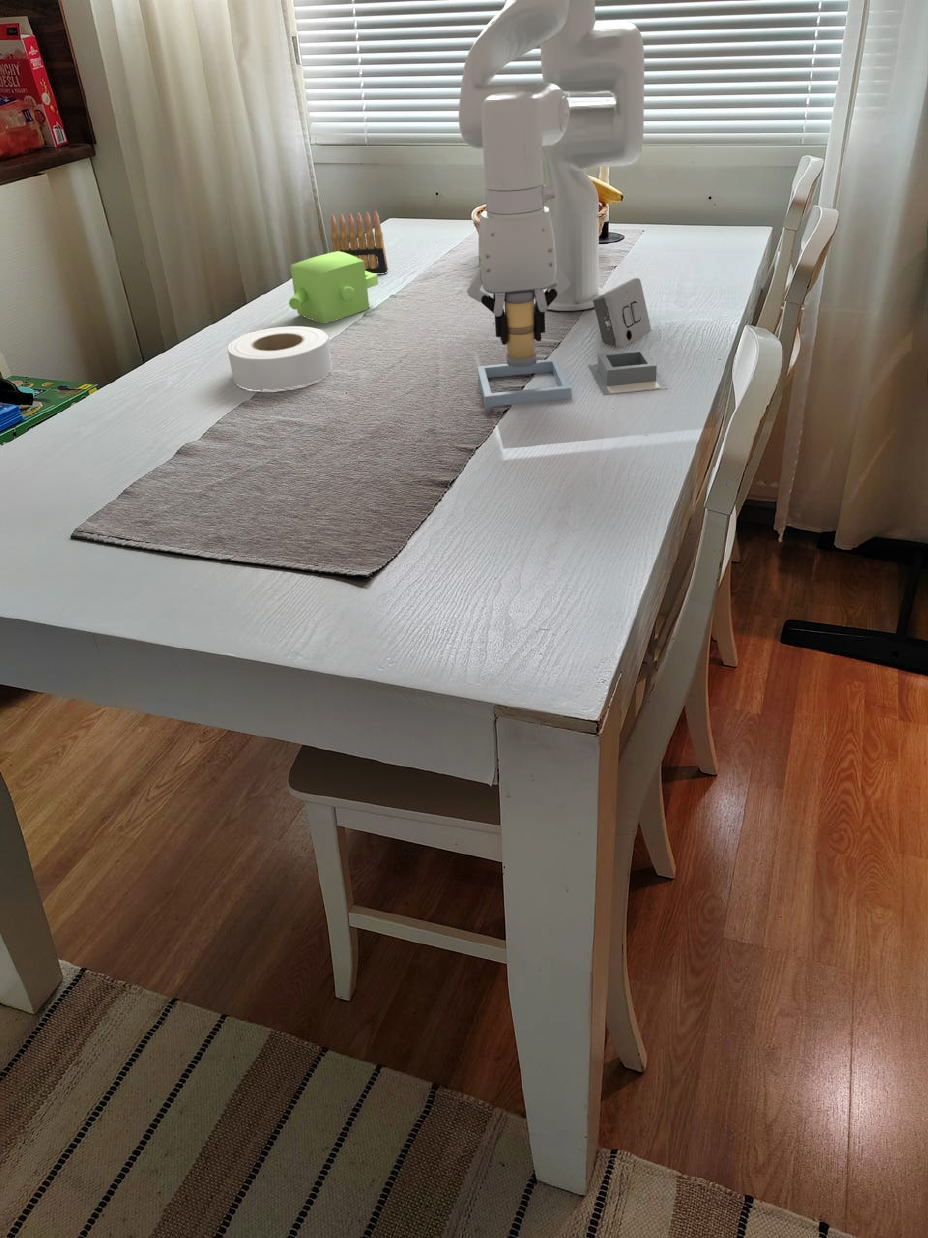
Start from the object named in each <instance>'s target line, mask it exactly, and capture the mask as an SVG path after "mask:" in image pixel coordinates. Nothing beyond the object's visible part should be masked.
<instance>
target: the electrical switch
mask: <svg viewBox="0 0 928 1238" xmlns="http://www.w3.org/2000/svg"><path fill="white" fill-rule="evenodd" d="M593 304H594V307H593V308H594V310H595V311H594V313H595V316H596V319H597V324H598V329H599V332H600V333H599V334H600V337H601V341H602V343H604V344H610V345H614V346H615V347H616V348H621V349H622V348H624V347H626V346H628V345H630V344H631V343H633V342H634V341H636V340H638V339H639V338H641V337H643V336H644V335H646V334H648V333H649V332H651V331H652V327H651V322H650V318H649V313H648V309H647V304H646V300H645V295H644V290H643V286H642V281H641V279H640V278H639V277H634V278H632V279H629V280H628V281H626V282H623V283H622V284H620V285H618V286H615V287H614V288H612V289H609V290H608V291H607V292H606V293H605V294H604V295H602V296H600V297H598V298H596V299H594V300H593Z"/></svg>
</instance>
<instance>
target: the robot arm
mask: <svg viewBox="0 0 928 1238" xmlns="http://www.w3.org/2000/svg"><path fill="white" fill-rule="evenodd" d="M643 41H644V40H643V37H642V33H641V31H640V30H639V28H638V27H637V26H636V25H635V24H633V23H630V22H626V21H611V22H597V20H596V0H504V7H503V8H502V9H501V10H500V11H499V12H498V13H497V14H496V15H495V16H494V17H493V18H491V20H490V21H489V23H488V24H486V26H485V27H484V28H483V30H481V33H480V34H479V35H478V36H477V38H476V39H475V41H474V43H473V44H472V46H471V47H470V49H469V51H468V53H467V56H466V58H465V61H464V66H463V69H462V70H463V72H462V78H461V86H460V87H461V88H460V94H459V105H458V125H459V129H460V130H459V132H460V133H461V136H462V138H463V140H464V142H465V143H466V144H467V146H470V147H472V148H473V149H476V150H477V149H478V150H482V153H483V170H484V171H483V172H484V186H485V188H484V191H485V193H484V195H485V207H486V209H485V211H484V210H483V211H482V212H481V213H480V217H479V225H478V269H477V271H476V273H475V275H474V277H473V279H472V280H471V281H470V284H469V285H468V288H467V290H466V293H467V295H468V297H470V298H472V299H473V300H475V301H477V302H479V303H481V304H482V305H483V306H484V307H486V309H488V310H489V311H491V313H493V315H494V328H495V329H494V330H495V336H496V338H500V341H501V344H502V345H503V346H505V345H506V346H507V343H508V339H507V319H506V314H505V308H504V306H505V302H504V298H505V293H511V292H522V291H532V290H534V321H535V342H536V341H537V342H542V334H545V333H546V311H547V310H550V311H557V312H558V311H559V312H576V311H582V310H589V309H593V308H594V304H593V300H594V299H596V298H598V297H600V296H602V295H604V294H605V293H606V292H608V291H607V290H606V289H604V288H603V287H600V285H599V284H600V283H599V282H600V281H599V280H600V279H599V276H600V275H599V274H600V273H599V272H600V271H599V269H600V268H599V262H600V261H599V260H600V259H599V257H600V254H599V253H600V252H599V250H600V249H599V247H600V244H599V238H600V235H599V234H600V231H599V230H600V229H599V228H600V226H599V224H600V222H599V221H600V217H599V216H600V215H599V213H600V212H599V211H600V206H599V205H600V201H599V200H600V198H599V193H598V189H597V187H596V185H595V183H594V182H593V181H592V179H591V178H590V177H589V175H588V174H587V172H586V171H585V170H584V169H589V168H605V167H607V168H608V167H624V166H630V165H632V164H634V163H635V162H637V161H638V159H639V158H640V156H641V154H642V150H643V141H644V121H645V120H644V119H645V118H644V112H645V110H644V109H645V108H644V106H645V105H644V104H645V103H644V102H645V100H644V99H645V49H644V42H643ZM538 47H539V48H540V62H541V63H540V64H541V67H540V68H541V74H542V75H541V76H542V81H543V82H529V83H506V84H505V83H503V84H490V83H491V82H492V80H493V78H494V77H495V76H496V74H497V73H498V72H499V71H500V70H502V68H504V67H505V66H507V65H508V64H509V63H510V62H512V61H514V60H516V59H517V58H520V57H522V56H523V55H526V54H528V53H529V52H531V51H532V50H535V49H537V48H538ZM587 94H589V95H591V94H609V95H611V96H612V98H613V99H614V100H613V101H592V102H591V101H583V102H582V101H581V102H569V100H568V98H567V96H566V95H587ZM481 288H483V290H481ZM484 291H485V292H484ZM490 294H492V296H490Z"/></svg>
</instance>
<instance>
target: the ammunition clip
mask: <svg viewBox="0 0 928 1238" xmlns="http://www.w3.org/2000/svg"><path fill="white" fill-rule="evenodd" d="M347 221H348V222H347V223H348V225H346V221H345V217H344V215H343V214H342V213H339V230H338V225H337V221H336V218H335V215H334V214H333V213H331V215H330V227H331V228H330V230H331V243H332V252H336V251H340V252H344V253H347V254H350V255H352V256H355V257H357V258H359V259H361V260H363V261H364V266H365V271H368V272H370V273H385V272H387V270H388V271H389V268H388V263H387V262H388V261H387V256H386V250H385V244H384V243H385V242H384V237H383V236H384V234H383V232H382V226H381V221H380V217H379V213H378V211H377V210H375V211H374V215H373V222H374V223H372V220H371V215H370V213H369V212H368V211H366V212H365V221H364V222H365V226H364V223H363V218H362V216H361V214H360V212H359V211H358V212H357V215H356V226H355V222H354V218H353V215H352V213H351V212H349V213H348V216H347ZM373 225H374V226H373ZM347 226H348V229H347ZM355 227H356V228H357V232H356V228H355ZM364 227H365V228H364ZM373 227H374V230H373ZM347 230H348V231H347ZM339 232H340V233H339ZM387 273H388V272H387Z"/></svg>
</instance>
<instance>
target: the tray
mask: <svg viewBox="0 0 928 1238" xmlns="http://www.w3.org/2000/svg"><path fill="white" fill-rule="evenodd" d="M560 362H561V361H560V360H559V358H558V357H557V358H547V359H538V360H537V362H536V363H535V364H534V365H531V366H527V367H512V366H509V365H508V364H507V362H506V363H498V364H488V365H478V366H476V369H477V371H476V372H477V379H478V380H477V381H478V386H479V391H480V394H481V395H480V396H481V399H482V403H483V407H484V411H485V414H486V413H487V414H495V410H494V407H500V406H501V407H503V406H510V405H521V404H522V405H523V404H532V403H539V402H540V403H541V402H542V403H543V402H550V401H559V400H569V399H570V400H571V399H572V386H571V384H570V383H569V380H568V377H567V375H566V374H565V371H564V369H563V367H562V365H561V363H560ZM550 372H552V374H553V376H554V379H555V382H556V383H557V385H558V386H550V387H549V386H548V387H538V388H530V389H521V390H511V391H510V390H509V391H499V392H492V391H491V386H490V383H489V380H488V379H491V378H500V377H510V376H520V375H521V376H522V375H530V374H539V373H550Z"/></svg>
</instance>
